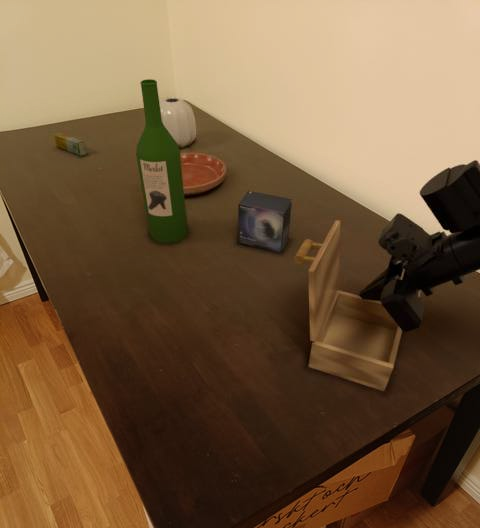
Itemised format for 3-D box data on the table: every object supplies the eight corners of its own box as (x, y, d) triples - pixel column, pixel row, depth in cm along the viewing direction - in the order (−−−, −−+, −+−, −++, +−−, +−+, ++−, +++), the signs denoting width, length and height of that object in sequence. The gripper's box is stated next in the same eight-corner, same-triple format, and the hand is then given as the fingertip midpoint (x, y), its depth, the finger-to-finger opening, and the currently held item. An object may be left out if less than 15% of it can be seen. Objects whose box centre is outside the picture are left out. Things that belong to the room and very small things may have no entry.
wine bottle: (146, 243, 98) (118, 88, 76) (153, 222, 105) (130, 74, 82) (185, 244, 98) (168, 89, 75) (190, 223, 104) (176, 74, 82)
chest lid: (340, 220, 68) (312, 218, 70) (313, 271, 59) (282, 267, 60) (338, 287, 77) (313, 284, 79) (315, 341, 67) (287, 336, 69)
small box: (236, 244, 98) (236, 202, 91) (247, 230, 102) (247, 189, 95) (280, 254, 95) (284, 212, 88) (289, 239, 99) (293, 198, 92)
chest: (399, 331, 78) (407, 308, 74) (384, 391, 68) (393, 368, 64) (331, 312, 81) (335, 289, 77) (308, 367, 72) (312, 343, 68)
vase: (162, 155, 134) (156, 109, 124) (151, 139, 143) (144, 95, 134) (203, 148, 138) (201, 103, 128) (190, 133, 147) (186, 90, 138)
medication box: (87, 154, 134) (85, 141, 132) (80, 156, 133) (78, 143, 130) (62, 144, 139) (60, 131, 137) (55, 146, 137) (53, 133, 135)
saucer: (139, 169, 126) (137, 157, 124) (214, 159, 131) (213, 147, 129) (152, 206, 111) (150, 193, 108) (236, 193, 116) (236, 180, 113)
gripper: (435, 175, 60) (345, 227, 71) (418, 243, 48) (312, 293, 59) (475, 235, 63) (383, 276, 74) (468, 314, 51) (359, 349, 62)
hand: (361, 295), depth 67 cm, fingers closed
